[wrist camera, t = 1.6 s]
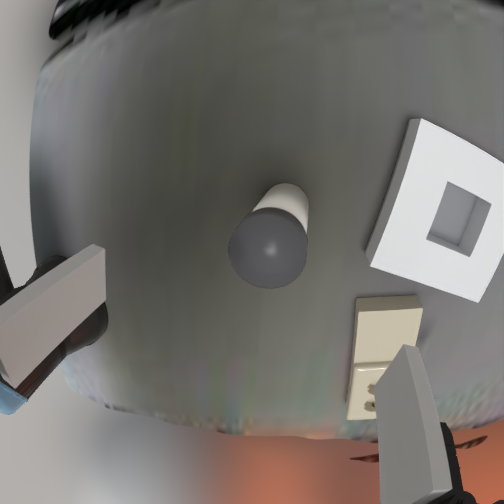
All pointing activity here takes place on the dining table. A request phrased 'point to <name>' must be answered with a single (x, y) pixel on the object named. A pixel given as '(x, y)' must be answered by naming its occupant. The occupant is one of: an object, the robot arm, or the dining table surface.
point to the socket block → (441, 213)
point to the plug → (272, 239)
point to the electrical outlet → (378, 346)
